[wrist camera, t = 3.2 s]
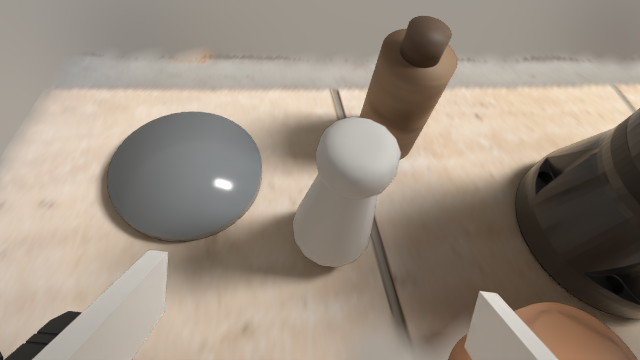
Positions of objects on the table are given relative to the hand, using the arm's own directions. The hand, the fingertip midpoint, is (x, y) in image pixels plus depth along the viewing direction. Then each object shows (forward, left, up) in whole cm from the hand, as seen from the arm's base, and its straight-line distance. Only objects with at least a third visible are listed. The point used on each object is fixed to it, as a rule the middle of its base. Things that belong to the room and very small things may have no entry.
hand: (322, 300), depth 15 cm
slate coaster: (+6, -15, -11) cm, 20 cm away
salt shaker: (-4, -7, -12) cm, 14 cm away
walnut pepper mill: (-12, -16, -11) cm, 22 cm away
